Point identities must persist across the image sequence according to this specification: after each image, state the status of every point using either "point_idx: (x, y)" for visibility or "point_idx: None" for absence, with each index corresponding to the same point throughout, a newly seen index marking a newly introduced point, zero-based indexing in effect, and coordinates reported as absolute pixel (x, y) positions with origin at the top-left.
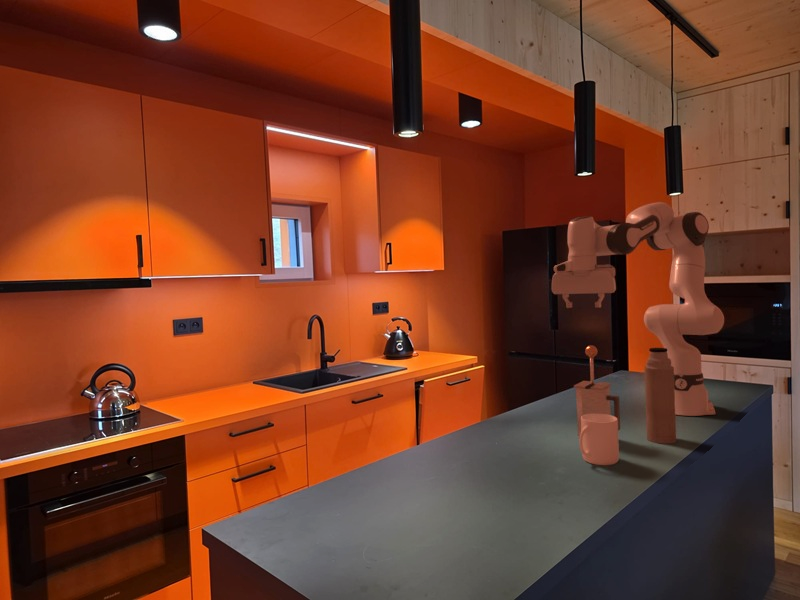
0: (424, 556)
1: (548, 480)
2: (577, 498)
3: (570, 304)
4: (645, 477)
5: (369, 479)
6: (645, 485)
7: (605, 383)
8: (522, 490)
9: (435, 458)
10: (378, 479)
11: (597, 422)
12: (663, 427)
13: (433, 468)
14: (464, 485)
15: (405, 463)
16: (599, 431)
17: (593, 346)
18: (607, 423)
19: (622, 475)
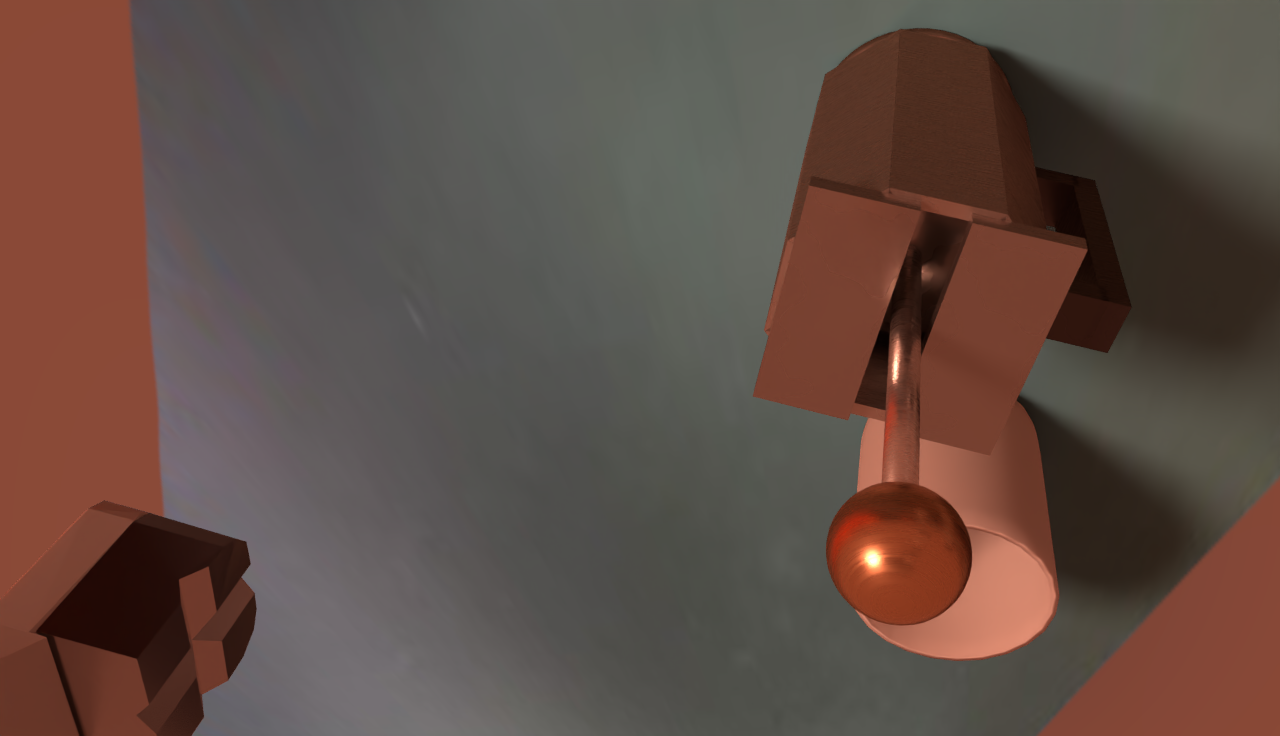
0: None
1: (760, 639)
2: (872, 732)
3: (200, 701)
4: (1131, 579)
5: (258, 684)
6: (1114, 638)
7: (1028, 278)
8: (698, 704)
9: (305, 526)
10: (279, 682)
11: (942, 658)
12: None
13: (361, 601)
14: (523, 692)
15: (251, 578)
16: (950, 622)
17: (925, 617)
18: (994, 652)
19: None
